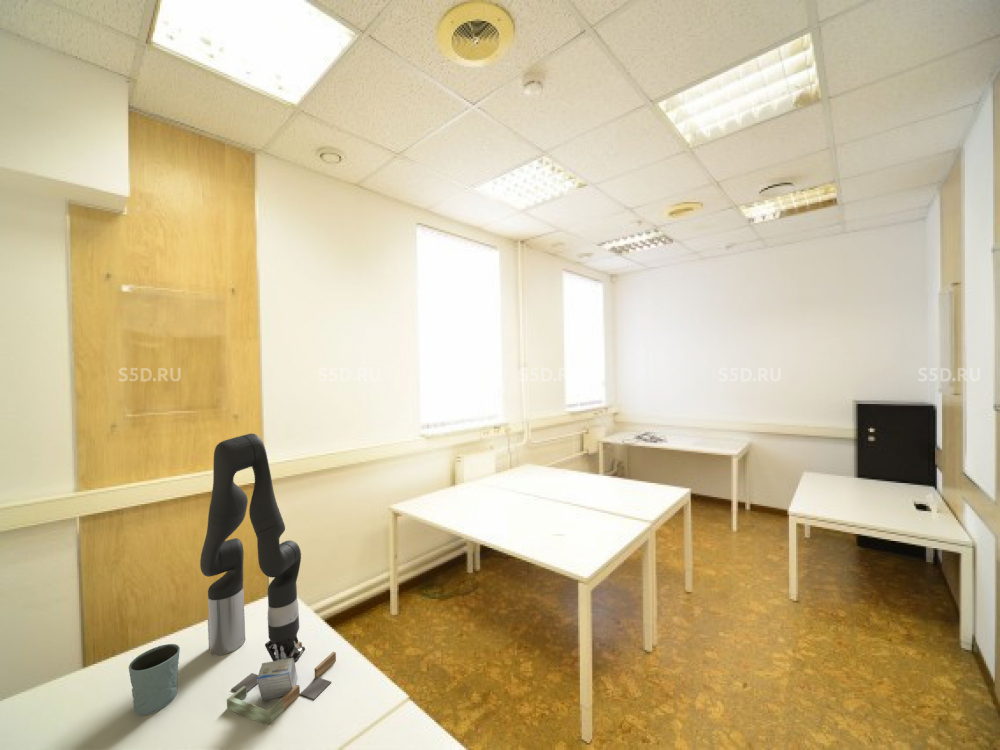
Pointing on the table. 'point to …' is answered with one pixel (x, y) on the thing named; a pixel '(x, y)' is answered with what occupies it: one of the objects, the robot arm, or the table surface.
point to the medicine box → (277, 678)
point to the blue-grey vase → (154, 678)
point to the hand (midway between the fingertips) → (286, 677)
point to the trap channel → (268, 716)
